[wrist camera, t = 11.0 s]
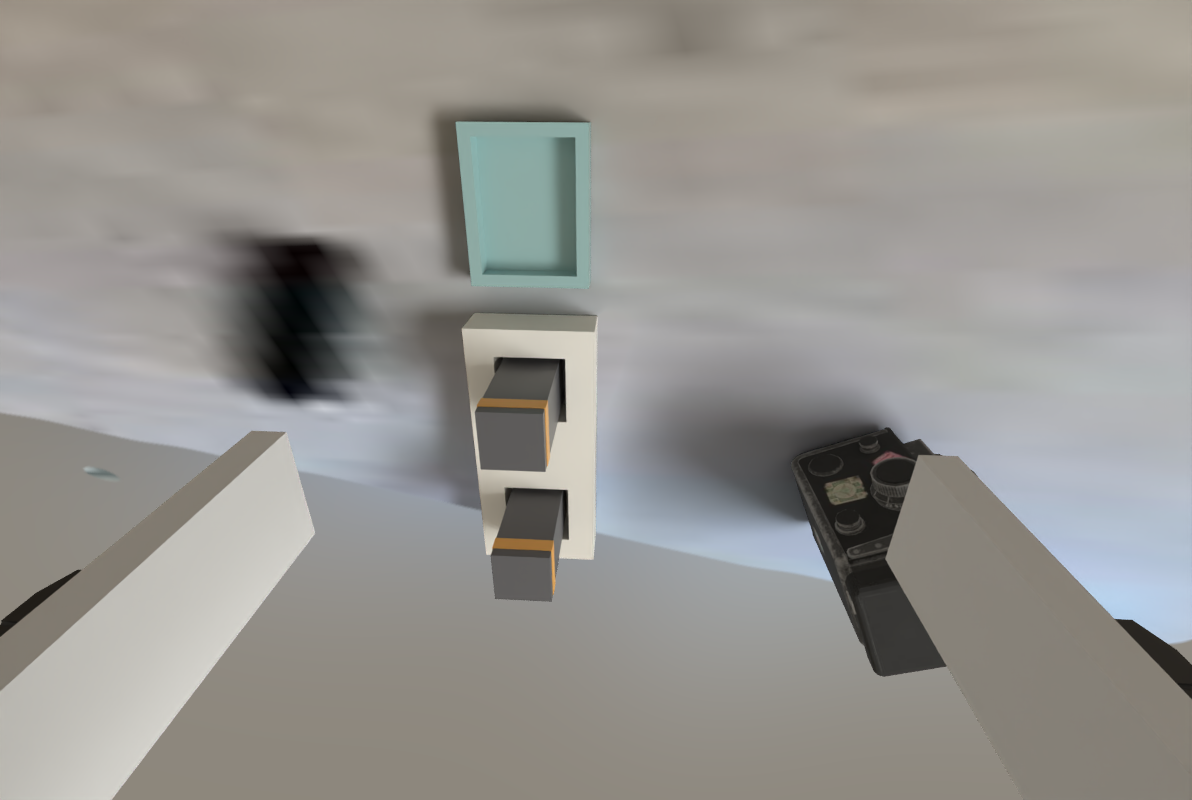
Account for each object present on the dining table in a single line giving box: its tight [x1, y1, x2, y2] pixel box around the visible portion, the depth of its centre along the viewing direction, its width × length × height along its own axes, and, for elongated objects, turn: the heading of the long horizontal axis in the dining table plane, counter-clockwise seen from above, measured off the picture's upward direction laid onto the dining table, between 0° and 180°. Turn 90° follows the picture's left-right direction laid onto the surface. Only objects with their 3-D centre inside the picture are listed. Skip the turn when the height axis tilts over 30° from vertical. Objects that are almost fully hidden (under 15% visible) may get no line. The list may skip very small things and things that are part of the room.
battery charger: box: [462, 313, 597, 602], centre depth 40 cm, size 20×9×10 cm, turn 0°
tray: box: [456, 122, 591, 289], centre depth 36 cm, size 10×8×2 cm
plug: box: [475, 357, 564, 472], centre depth 37 cm, size 4×4×10 cm
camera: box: [791, 428, 978, 676], centre depth 38 cm, size 10×10×15 cm
